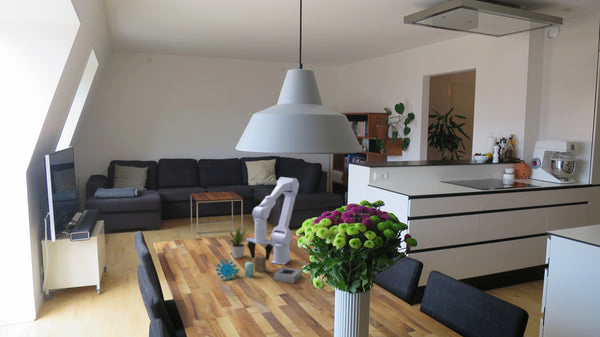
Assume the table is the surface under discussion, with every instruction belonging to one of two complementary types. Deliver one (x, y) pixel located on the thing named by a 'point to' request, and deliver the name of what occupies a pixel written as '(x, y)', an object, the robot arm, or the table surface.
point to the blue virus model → (227, 270)
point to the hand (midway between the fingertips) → (260, 258)
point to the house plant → (238, 243)
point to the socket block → (287, 275)
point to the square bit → (260, 264)
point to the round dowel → (249, 269)
